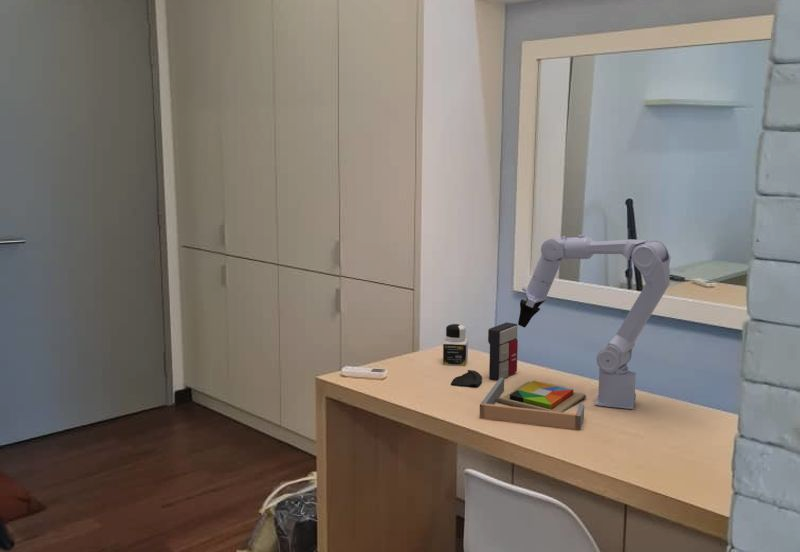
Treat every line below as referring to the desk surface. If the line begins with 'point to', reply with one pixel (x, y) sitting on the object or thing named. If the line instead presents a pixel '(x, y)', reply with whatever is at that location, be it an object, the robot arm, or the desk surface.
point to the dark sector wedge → (468, 379)
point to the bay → (527, 412)
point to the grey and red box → (503, 350)
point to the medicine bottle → (455, 346)
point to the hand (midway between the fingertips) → (524, 321)
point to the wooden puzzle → (542, 397)
